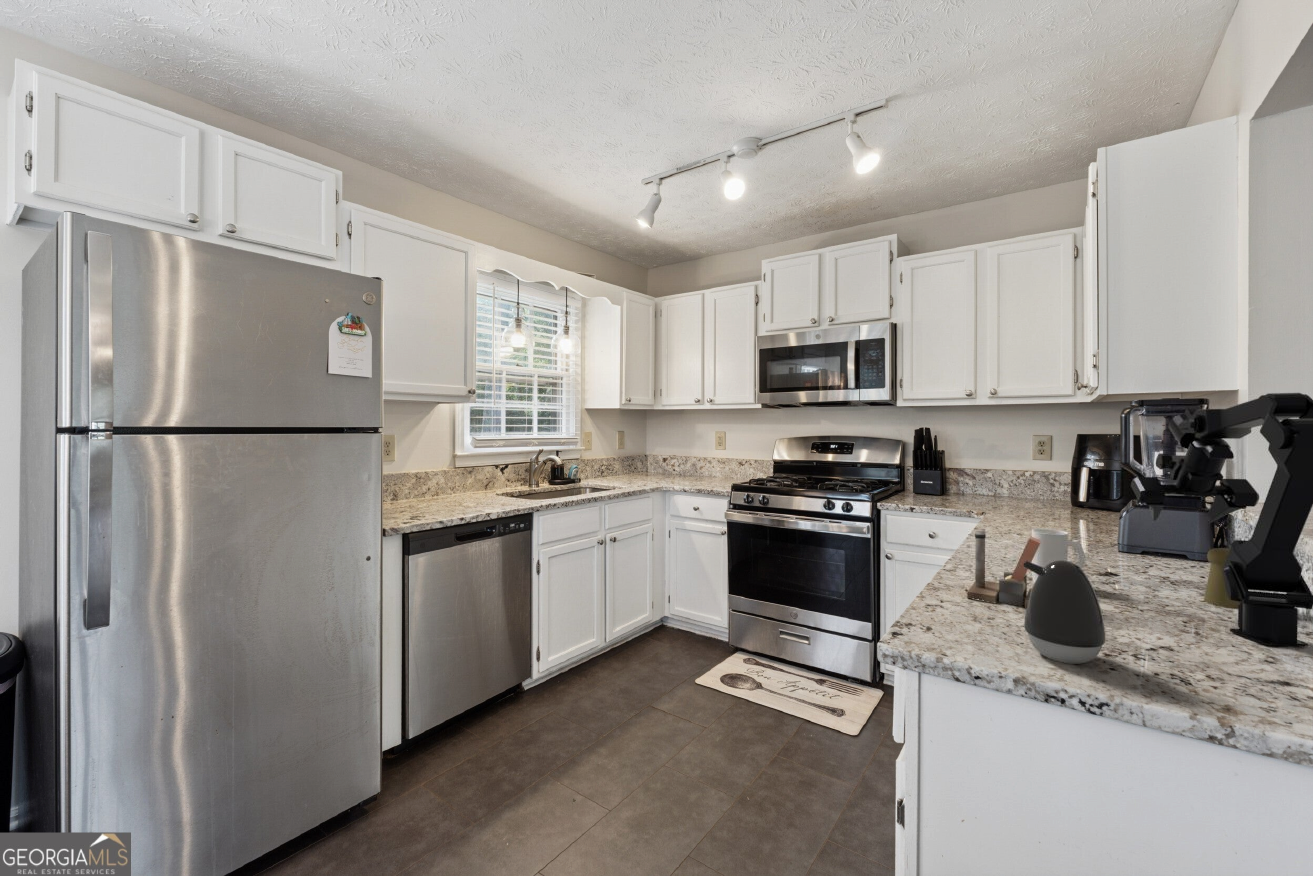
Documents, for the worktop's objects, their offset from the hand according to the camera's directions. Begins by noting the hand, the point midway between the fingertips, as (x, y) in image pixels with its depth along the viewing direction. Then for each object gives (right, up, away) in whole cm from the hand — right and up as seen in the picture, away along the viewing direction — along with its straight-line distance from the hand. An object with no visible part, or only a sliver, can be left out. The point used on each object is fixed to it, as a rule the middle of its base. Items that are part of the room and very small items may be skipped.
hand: (1180, 520), depth 119 cm
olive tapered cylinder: (+1, -16, -9) cm, 18 cm away
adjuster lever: (-39, -15, -4) cm, 42 cm away
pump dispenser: (-50, -17, -33) cm, 62 cm away
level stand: (-39, -16, -4) cm, 42 cm away
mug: (-23, -15, +4) cm, 28 cm away
